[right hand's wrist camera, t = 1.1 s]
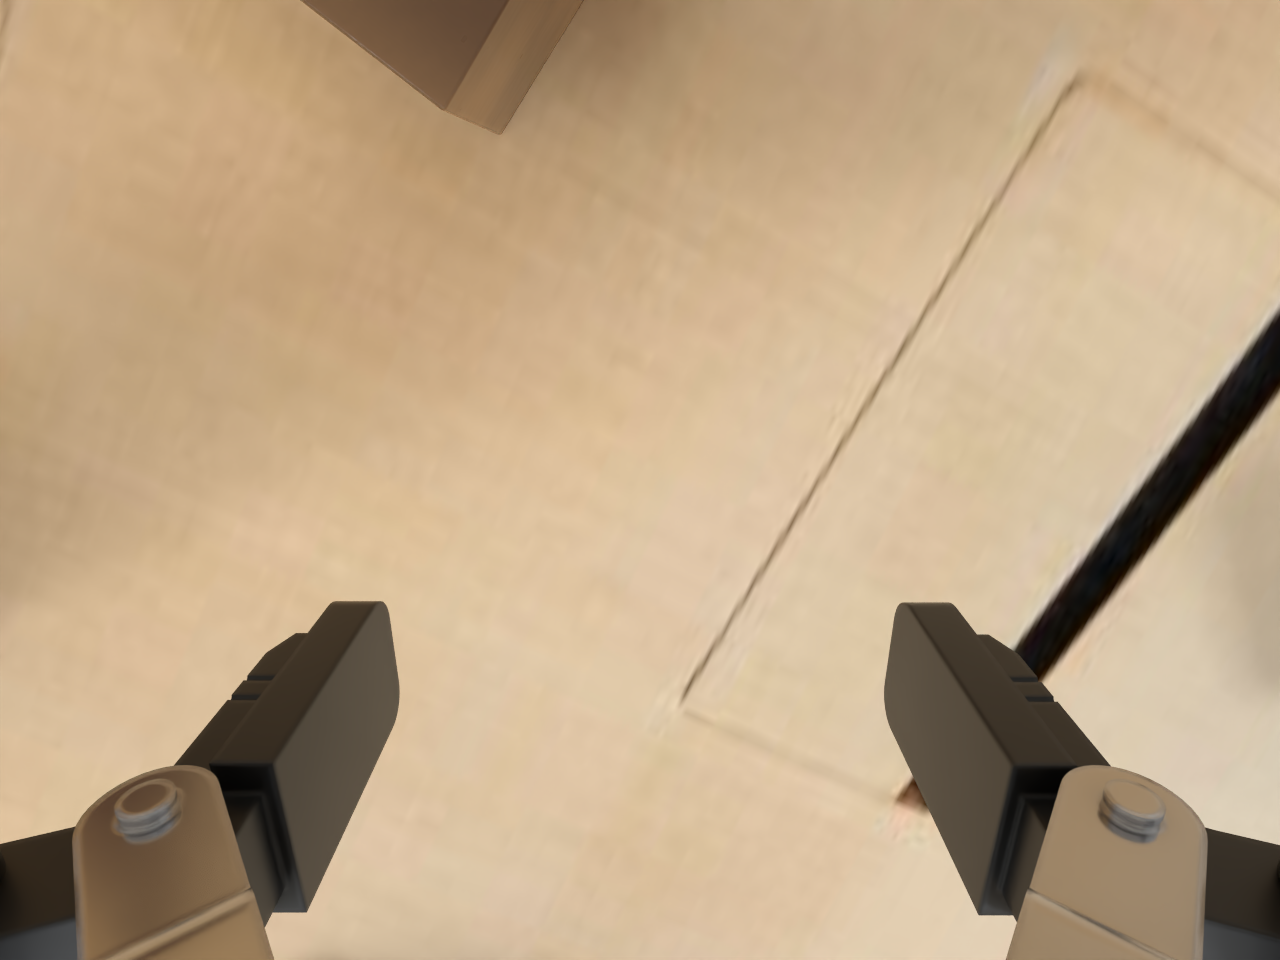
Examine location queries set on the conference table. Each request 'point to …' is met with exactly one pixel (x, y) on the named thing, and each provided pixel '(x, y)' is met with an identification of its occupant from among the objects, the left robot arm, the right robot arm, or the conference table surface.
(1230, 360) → the conference table surface
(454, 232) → the conference table surface
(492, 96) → the bar
